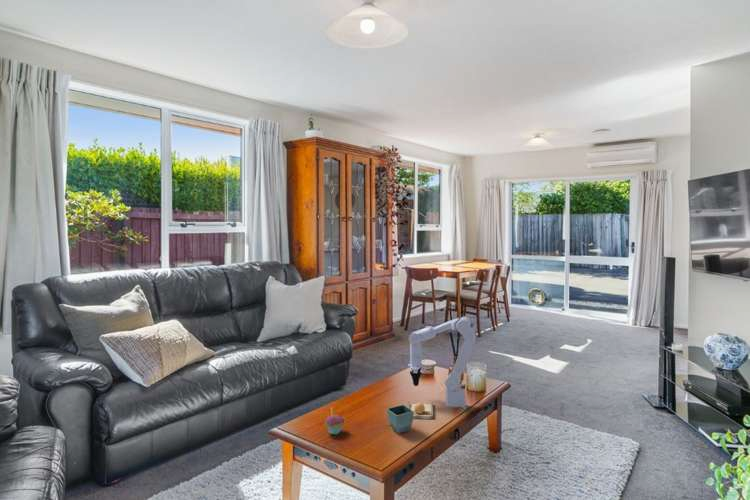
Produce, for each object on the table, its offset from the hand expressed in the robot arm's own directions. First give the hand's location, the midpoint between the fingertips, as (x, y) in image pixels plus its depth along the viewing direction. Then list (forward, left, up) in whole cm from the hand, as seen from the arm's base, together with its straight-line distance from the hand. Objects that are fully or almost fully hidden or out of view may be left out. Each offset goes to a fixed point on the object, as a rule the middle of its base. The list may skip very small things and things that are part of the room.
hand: (416, 383), depth 226 cm
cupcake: (+34, +36, -10) cm, 51 cm away
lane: (-2, +14, -10) cm, 17 cm away
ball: (-2, +17, -8) cm, 19 cm away
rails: (-2, +14, -10) cm, 17 cm away
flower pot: (+6, +32, -10) cm, 34 cm away
